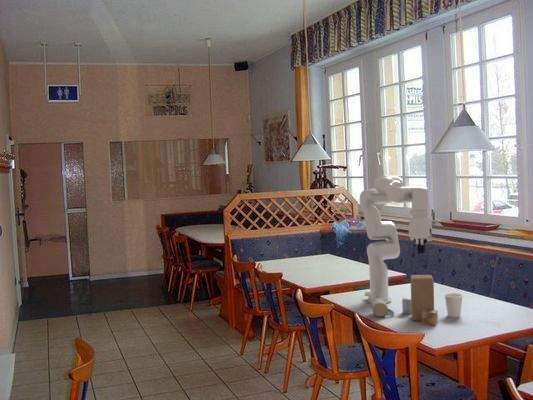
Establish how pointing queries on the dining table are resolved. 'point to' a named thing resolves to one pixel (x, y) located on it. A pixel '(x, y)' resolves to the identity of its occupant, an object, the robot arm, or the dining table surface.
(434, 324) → the walnut cube
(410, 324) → the dining table surface
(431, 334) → the dining table surface
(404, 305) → the bluegrey post
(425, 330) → the dining table surface
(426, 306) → the block
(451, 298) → the dixie cup
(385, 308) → the ceramic mug
